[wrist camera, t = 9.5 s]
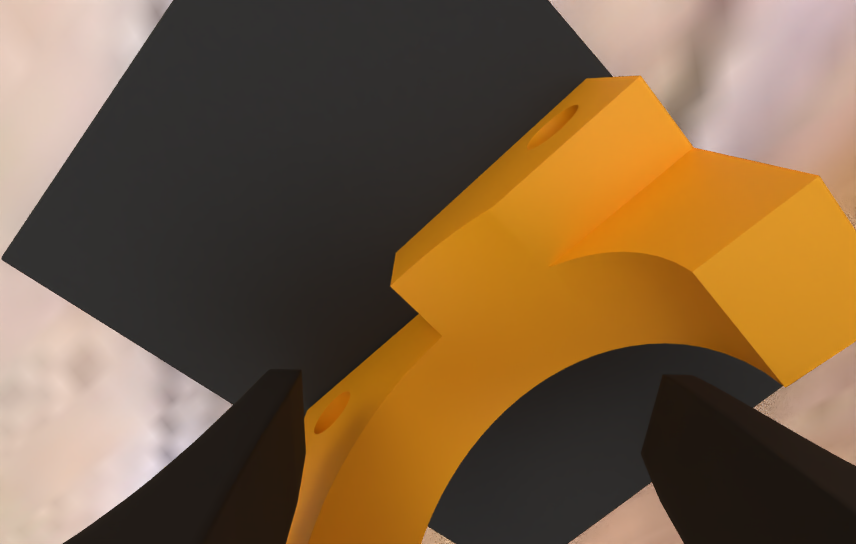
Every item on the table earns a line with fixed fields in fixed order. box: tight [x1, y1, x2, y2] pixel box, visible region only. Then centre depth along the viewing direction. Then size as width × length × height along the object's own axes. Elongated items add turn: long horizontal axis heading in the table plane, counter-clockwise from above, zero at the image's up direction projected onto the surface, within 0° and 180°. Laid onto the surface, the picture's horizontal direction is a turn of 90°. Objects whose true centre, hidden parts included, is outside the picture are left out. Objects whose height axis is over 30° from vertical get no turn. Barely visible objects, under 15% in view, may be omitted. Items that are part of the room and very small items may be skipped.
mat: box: [2, 0, 783, 544], centre depth 15 cm, size 20×14×1 cm
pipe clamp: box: [286, 76, 856, 544], centre depth 11 cm, size 12×4×6 cm, turn 133°
